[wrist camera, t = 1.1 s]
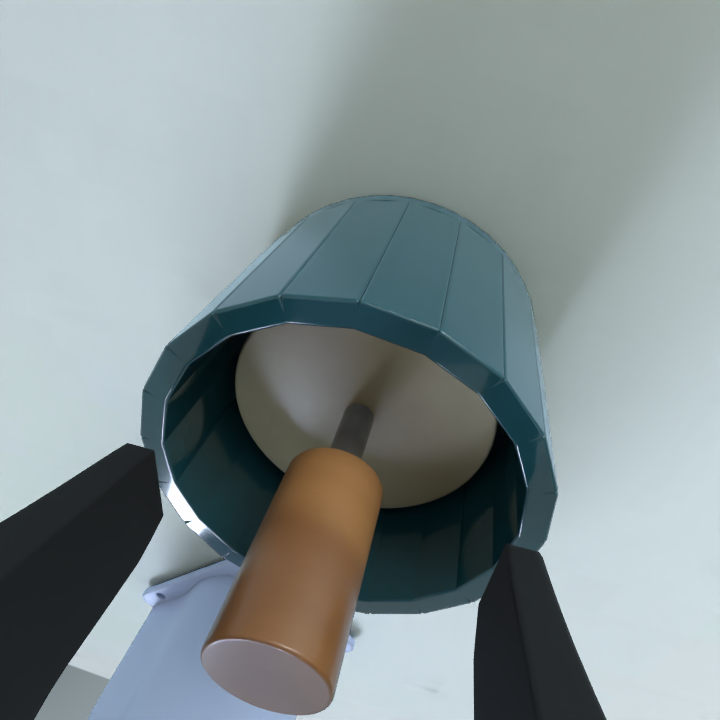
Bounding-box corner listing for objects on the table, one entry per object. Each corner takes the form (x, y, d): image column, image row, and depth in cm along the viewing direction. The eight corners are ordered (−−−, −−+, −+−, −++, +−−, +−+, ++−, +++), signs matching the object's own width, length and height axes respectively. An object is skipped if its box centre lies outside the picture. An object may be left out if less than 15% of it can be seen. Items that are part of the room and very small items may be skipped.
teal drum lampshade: (362, 474, 21) (312, 640, 15) (202, 295, 18) (67, 417, 12) (589, 381, 16) (637, 567, 11) (426, 123, 13) (374, 191, 8)
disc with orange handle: (357, 477, 18) (259, 792, 11) (223, 328, 16) (-18, 592, 9) (543, 402, 15) (589, 780, 7) (405, 201, 13) (274, 448, 5)
